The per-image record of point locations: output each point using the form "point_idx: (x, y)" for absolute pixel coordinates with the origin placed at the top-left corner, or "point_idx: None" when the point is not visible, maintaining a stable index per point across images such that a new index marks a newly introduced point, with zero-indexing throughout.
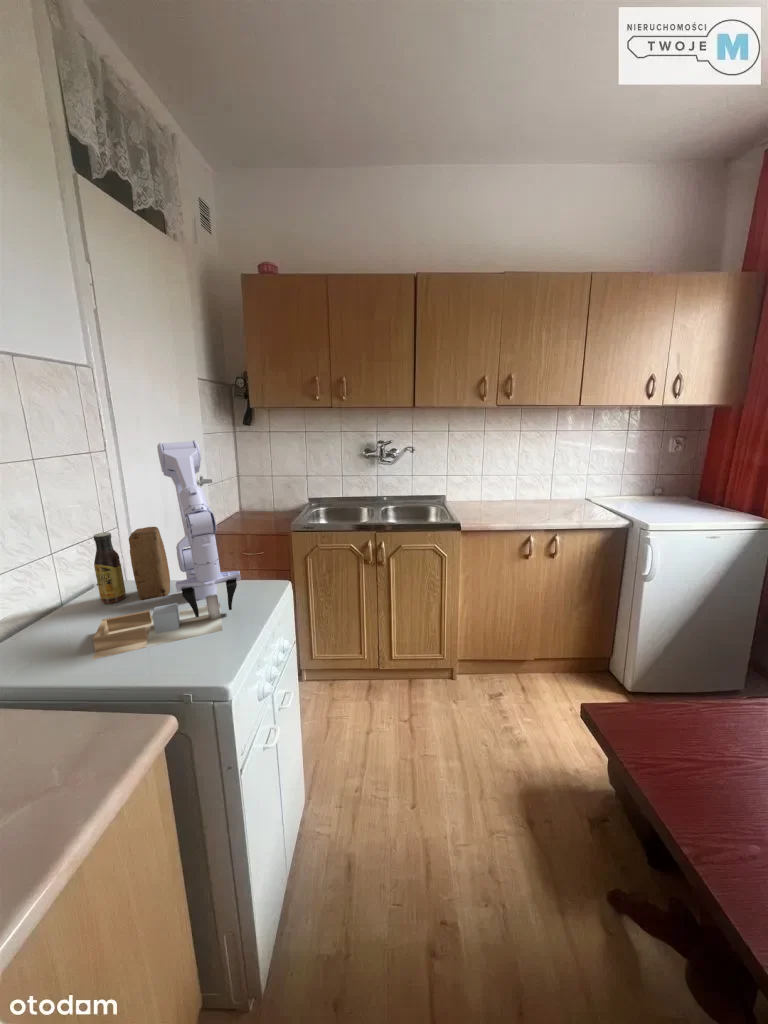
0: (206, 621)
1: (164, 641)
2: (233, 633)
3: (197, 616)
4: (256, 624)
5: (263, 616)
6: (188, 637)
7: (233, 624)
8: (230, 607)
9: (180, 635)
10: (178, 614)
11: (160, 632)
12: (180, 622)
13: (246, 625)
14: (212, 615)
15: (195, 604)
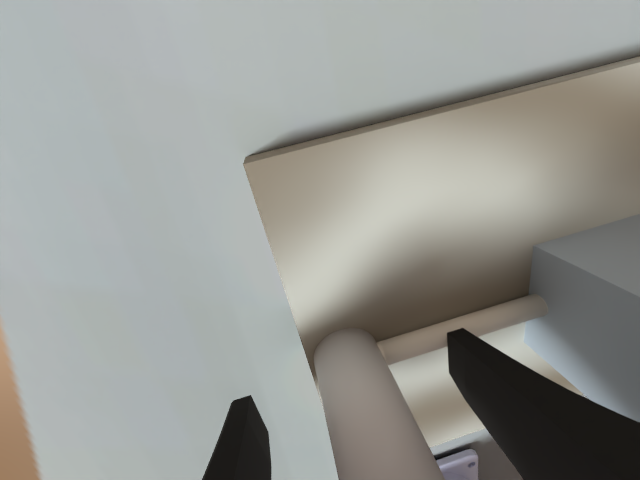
0: (386, 306)
1: (624, 91)
2: (179, 179)
3: (455, 332)
4: (39, 275)
5: (37, 366)
6: (482, 109)
7: (220, 295)
8: (233, 415)
9: (530, 155)
10: (574, 349)
11: (626, 219)
12: (534, 298)
13: (118, 272)
14: (358, 346)
15: (542, 410)
